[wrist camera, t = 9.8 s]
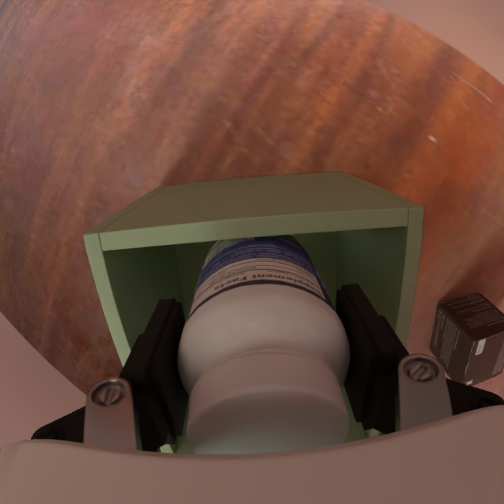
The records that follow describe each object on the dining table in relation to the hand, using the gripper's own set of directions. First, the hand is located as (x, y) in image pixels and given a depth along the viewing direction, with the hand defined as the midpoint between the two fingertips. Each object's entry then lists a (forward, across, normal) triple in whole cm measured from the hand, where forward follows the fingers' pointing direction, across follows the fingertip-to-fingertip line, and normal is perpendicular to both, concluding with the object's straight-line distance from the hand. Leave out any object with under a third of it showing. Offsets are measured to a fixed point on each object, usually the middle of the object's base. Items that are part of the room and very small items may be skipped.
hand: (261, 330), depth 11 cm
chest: (+14, 0, +4) cm, 15 cm away
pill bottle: (+5, 0, 0) cm, 5 cm away
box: (+14, -21, +12) cm, 28 cm away
